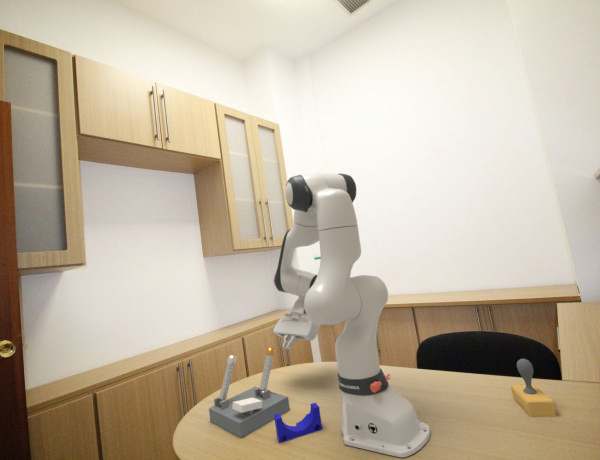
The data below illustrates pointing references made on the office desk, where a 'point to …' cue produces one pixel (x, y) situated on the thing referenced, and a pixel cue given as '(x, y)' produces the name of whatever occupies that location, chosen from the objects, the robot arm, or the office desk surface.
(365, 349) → the robot arm
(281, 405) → the panel
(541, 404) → the rubber stamp
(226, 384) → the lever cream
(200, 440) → the office desk surface
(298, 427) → the cable clip
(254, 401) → the white rectangular block
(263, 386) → the lever orange
